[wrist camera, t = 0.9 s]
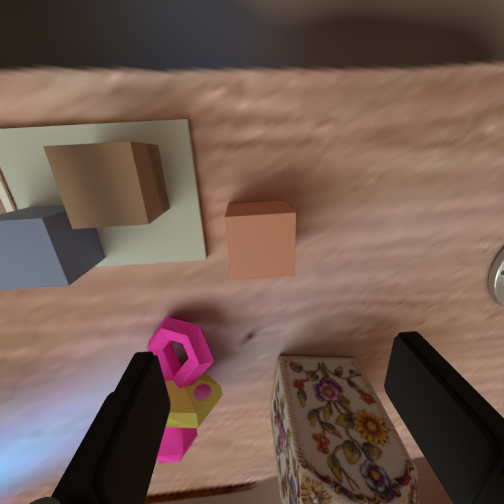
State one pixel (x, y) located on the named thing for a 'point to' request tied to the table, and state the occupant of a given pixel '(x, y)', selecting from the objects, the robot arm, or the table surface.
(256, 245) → the terracotta block
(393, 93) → the table surface
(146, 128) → the board
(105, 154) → the walnut block
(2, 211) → the tile
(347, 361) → the decorative jar
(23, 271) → the blue-gray block
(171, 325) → the toy
